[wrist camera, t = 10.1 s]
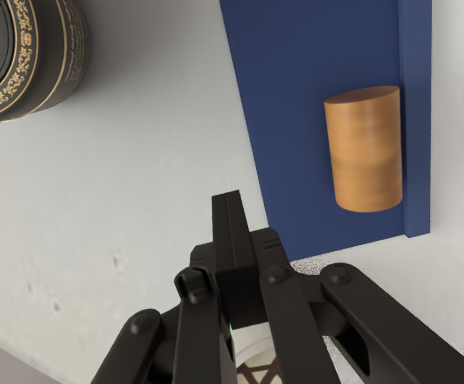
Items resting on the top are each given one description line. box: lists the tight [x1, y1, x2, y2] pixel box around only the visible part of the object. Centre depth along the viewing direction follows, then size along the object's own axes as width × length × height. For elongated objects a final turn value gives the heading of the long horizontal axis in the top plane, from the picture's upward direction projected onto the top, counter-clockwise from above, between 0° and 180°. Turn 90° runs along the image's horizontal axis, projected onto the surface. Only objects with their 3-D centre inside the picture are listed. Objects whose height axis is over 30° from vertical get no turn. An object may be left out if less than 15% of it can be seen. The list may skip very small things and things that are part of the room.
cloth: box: [220, 0, 432, 262], centre depth 25 cm, size 22×14×1 cm, turn 13°
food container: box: [230, 322, 282, 384], centre depth 26 cm, size 12×6×10 cm, turn 7°
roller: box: [324, 86, 403, 212], centre depth 23 cm, size 8×5×5 cm
